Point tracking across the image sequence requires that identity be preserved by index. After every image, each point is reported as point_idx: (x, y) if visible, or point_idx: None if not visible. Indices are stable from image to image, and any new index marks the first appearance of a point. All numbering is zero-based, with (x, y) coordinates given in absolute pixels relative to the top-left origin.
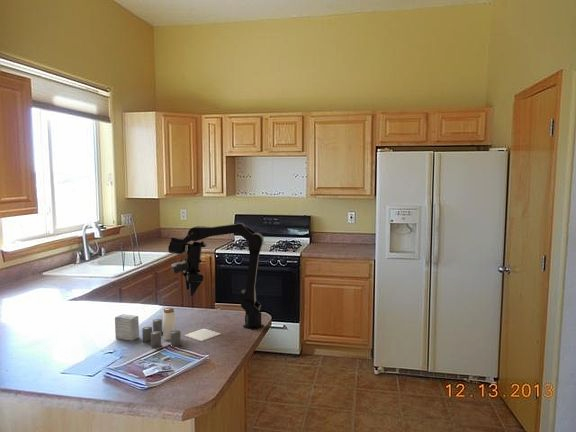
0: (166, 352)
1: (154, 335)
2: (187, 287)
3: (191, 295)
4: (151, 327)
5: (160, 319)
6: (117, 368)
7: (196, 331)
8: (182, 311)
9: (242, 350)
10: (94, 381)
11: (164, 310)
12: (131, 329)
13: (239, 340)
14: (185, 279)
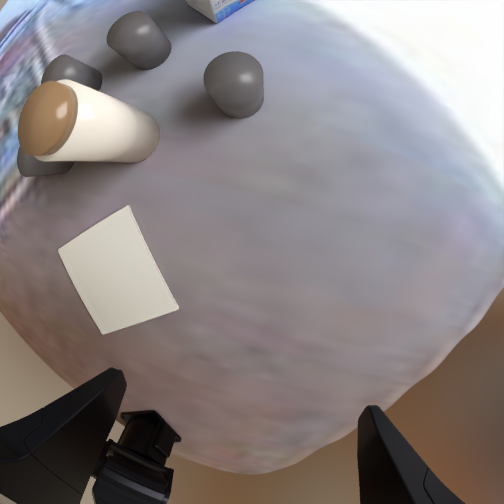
0: None
1: (46, 72)
2: (369, 429)
3: (112, 374)
4: (125, 45)
5: (242, 94)
6: (31, 22)
7: (149, 267)
8: (465, 292)
9: (9, 317)
10: (19, 6)
11: (37, 89)
12: None
13: (55, 347)
14: (415, 499)
